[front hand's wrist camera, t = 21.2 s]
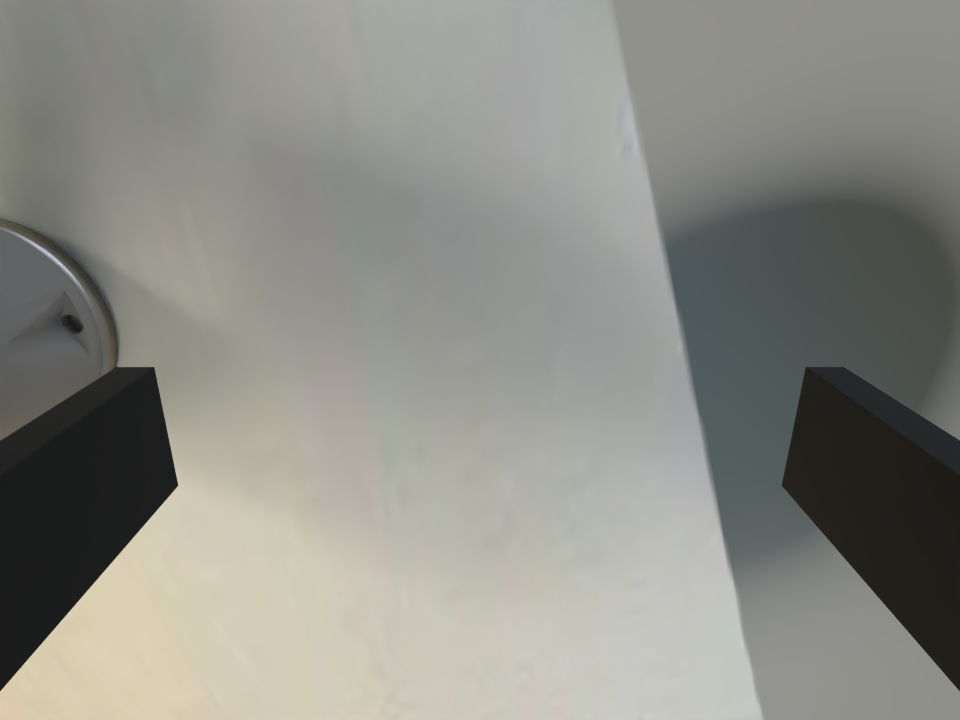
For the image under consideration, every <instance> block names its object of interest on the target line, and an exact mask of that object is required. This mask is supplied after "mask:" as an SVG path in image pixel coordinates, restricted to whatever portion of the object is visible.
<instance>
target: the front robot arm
mask: <svg viewBox="0 0 960 720" xmlns="http://www.w3.org/2000/svg"><path fill="white" fill-rule="evenodd" d="M115 362H116V339H115V332H114V327H113V323H112V320H111V317H110V314H109V311H108V309H107V307H106V304H105V302H104V300H103V298H102V296H101V295H100V293H99V291H98V290H97V288H96V286H95V285H94V283H93V282H92V281H91V279H90V278H89V277H88V275H87V274H86V273H85V272H84V271H83V269H82V268H81V267H80V266H79V265H78V264H77V263H76V262H75V261H74V260H73V259H72V258H71V257H70V256H69V255H67V254H66V253H65V252H64V251H63V250H61V249H60V248H59V247H58V246H56V245H55V244H53V243H52V242H50V241H49V240H47V239H46V238H44V237H42V236H40V235H39V234H37V233H35V232H33V231H31V230H29V229H27V228H25V227H22V226H19V225H17V224H14V223H11V222H8V221H4V220H0V691H1V690H2V689H3V687H4V686H5V685H6V684H7V683H8V682H9V680H10V679H11V678H12V677H13V676H14V675H15V674H16V672H17V671H18V670H19V669H20V668H21V667H22V665H23V664H24V663H25V662H26V661H27V660H28V659H29V657H30V656H31V655H32V654H33V653H34V652H35V650H36V649H37V648H38V647H39V646H40V645H41V644H42V642H43V641H44V640H45V639H46V638H47V637H48V635H49V634H50V633H51V632H52V631H53V630H54V628H55V627H56V626H57V625H58V624H59V623H60V622H61V620H62V619H63V618H64V617H65V616H66V615H67V613H68V612H69V611H70V610H71V609H72V608H73V607H74V605H75V604H76V603H77V602H78V601H79V600H80V598H81V597H82V596H83V595H84V594H85V593H86V592H87V590H88V589H89V588H90V587H91V586H92V585H93V583H94V582H95V581H96V580H97V579H98V578H99V576H100V575H101V574H102V573H103V572H104V571H105V570H106V568H107V567H108V566H109V565H110V564H111V563H112V561H113V560H114V559H115V558H116V557H117V556H118V555H119V553H120V552H121V551H122V550H123V549H124V548H125V546H126V545H127V544H128V543H129V542H130V541H131V540H132V538H133V537H134V536H135V535H136V534H137V533H138V531H139V530H140V529H141V528H142V527H143V526H144V524H145V523H146V522H147V521H148V520H149V519H150V518H151V516H152V515H153V514H154V513H155V512H156V511H157V509H158V508H159V507H160V506H161V505H162V504H163V503H164V501H165V500H166V499H167V498H168V497H169V496H170V494H171V493H172V492H173V491H174V490H175V489H176V488H177V486H178V482H177V477H176V473H175V468H174V463H173V458H172V453H171V448H170V443H169V438H168V433H167V428H166V423H165V418H164V413H163V408H162V403H161V399H160V394H159V389H158V384H157V379H156V374H155V369H154V367H116V368H114V367H115ZM782 486H783V488H784V489H785V490H786V491H787V492H788V493H789V494H790V496H791V497H792V498H793V499H794V500H795V501H796V503H797V504H798V505H799V506H800V507H801V508H802V509H803V511H804V512H805V513H806V514H807V515H808V516H809V517H810V519H811V520H812V521H813V522H814V523H815V524H816V526H817V527H818V528H819V529H820V530H821V531H822V533H823V534H824V535H825V536H826V537H827V538H828V540H829V541H830V542H831V543H832V544H833V545H834V546H835V547H836V549H837V550H838V551H839V552H840V553H841V555H842V556H843V557H844V558H845V559H846V560H847V561H848V563H849V564H850V565H851V566H852V567H853V568H854V570H855V571H856V572H857V573H858V574H859V575H860V576H861V578H862V579H863V580H864V581H865V582H866V583H867V585H868V586H869V587H870V588H871V589H872V590H873V591H874V593H875V594H876V595H877V596H878V597H879V598H880V600H881V601H882V602H883V603H884V604H885V605H886V606H887V608H888V609H889V610H890V611H891V612H892V613H893V615H894V616H895V617H896V618H897V619H898V620H899V622H900V623H901V624H902V625H903V626H904V627H905V628H906V630H907V631H908V632H909V633H910V634H911V635H912V637H913V638H914V639H915V640H916V641H917V642H918V643H919V645H920V646H921V647H922V648H923V649H924V650H925V652H926V653H927V654H928V655H929V656H930V657H931V658H932V660H933V661H934V662H935V663H936V664H937V665H938V667H939V668H940V669H941V670H942V671H943V672H944V673H945V675H946V676H947V677H948V678H949V679H950V680H951V682H952V683H953V684H954V685H955V686H956V687H957V689H958V690H959V691H960V441H959V440H958V439H956V438H955V437H953V436H952V435H950V434H948V433H947V432H945V431H944V430H942V429H941V428H939V427H937V426H936V425H934V424H933V423H931V422H929V421H928V420H926V419H925V418H923V417H922V416H920V415H918V414H917V413H915V412H914V411H912V410H911V409H909V408H907V407H906V406H904V405H903V404H901V403H899V402H898V401H896V400H895V399H893V398H892V397H890V396H888V395H887V394H885V393H884V392H882V391H881V390H879V389H877V388H876V387H874V386H873V385H871V384H869V383H868V382H866V381H865V380H863V379H862V378H860V377H858V376H857V375H855V374H854V373H852V372H851V371H849V370H847V369H846V368H844V367H806V369H805V374H804V379H803V384H802V389H801V394H800V399H799V403H798V408H797V413H796V418H795V423H794V428H793V433H792V438H791V443H790V448H789V453H788V458H787V463H786V468H785V473H784V478H783V482H782Z"/></svg>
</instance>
